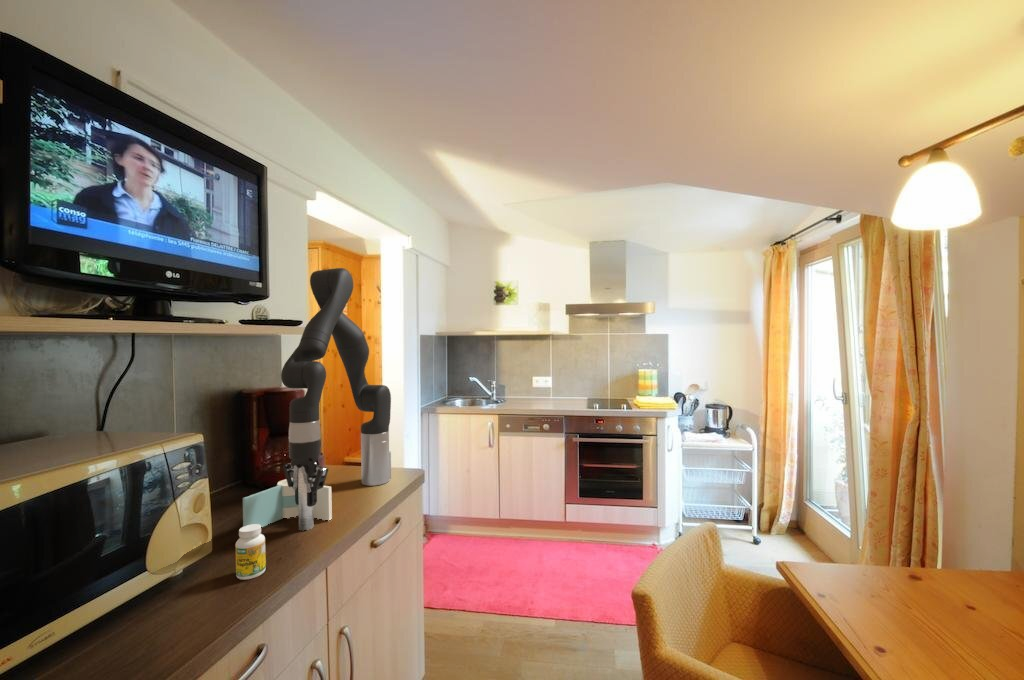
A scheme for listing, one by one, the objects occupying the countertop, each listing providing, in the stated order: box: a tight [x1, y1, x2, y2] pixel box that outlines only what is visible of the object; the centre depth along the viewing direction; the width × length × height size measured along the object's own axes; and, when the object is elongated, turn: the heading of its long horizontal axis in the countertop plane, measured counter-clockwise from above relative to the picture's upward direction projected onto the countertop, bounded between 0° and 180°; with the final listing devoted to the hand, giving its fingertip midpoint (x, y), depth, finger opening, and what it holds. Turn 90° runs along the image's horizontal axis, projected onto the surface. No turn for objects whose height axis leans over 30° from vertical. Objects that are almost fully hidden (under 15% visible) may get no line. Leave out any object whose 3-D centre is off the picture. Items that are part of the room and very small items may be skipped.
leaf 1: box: [242, 485, 298, 528], centre depth 120 cm, size 18×7×9 cm, turn 157°
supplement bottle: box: [234, 524, 267, 581], centre depth 92 cm, size 5×5×10 cm
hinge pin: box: [298, 468, 315, 532], centre depth 115 cm, size 4×4×16 cm
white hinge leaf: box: [276, 477, 333, 522], centre depth 123 cm, size 7×18×9 cm, turn 67°
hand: (305, 504), depth 115 cm, fingers closed on hinge pin, 3 cm apart
